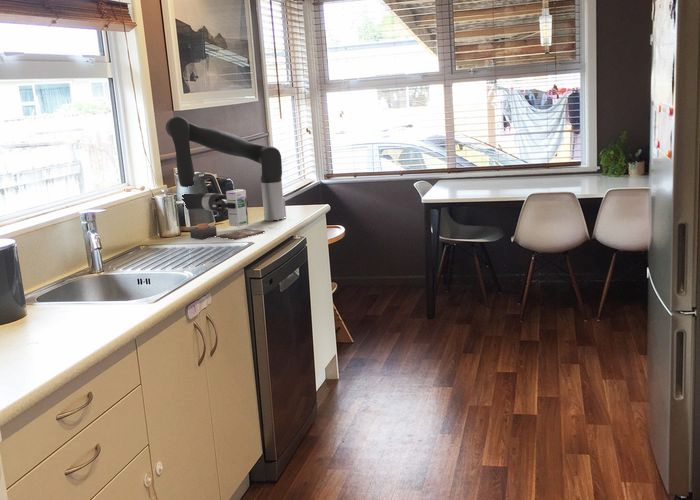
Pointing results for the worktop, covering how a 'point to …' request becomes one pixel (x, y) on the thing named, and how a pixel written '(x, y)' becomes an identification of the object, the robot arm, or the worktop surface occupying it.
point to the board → (240, 234)
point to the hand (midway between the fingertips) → (241, 205)
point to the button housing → (203, 233)
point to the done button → (202, 226)
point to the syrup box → (237, 207)
